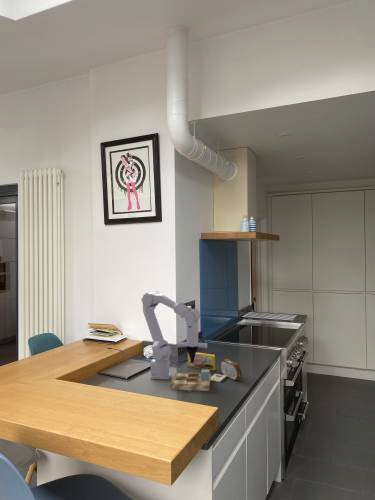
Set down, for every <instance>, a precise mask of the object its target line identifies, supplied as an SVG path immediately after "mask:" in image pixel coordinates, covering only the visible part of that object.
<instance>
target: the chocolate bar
mask: <svg viewBox="0 0 375 500" xmlns="http://www.w3.org/2000/svg"><path fill="white" fill-rule="evenodd" d="M227 379H229V377H228V376H226V375H224V374H223V373H222V371H221V368H217V369H216V370H214V372H213V373H211V381H210V382H216V383H217V382H218V383H220V384H221V383H222V384H223V383H224V382H225V381H226V380H227Z"/></svg>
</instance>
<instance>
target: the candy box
mask: <svg viewBox="0 0 375 500" xmlns="http://www.w3.org/2000/svg"><path fill="white" fill-rule="evenodd" d="M187 367H192V368H196V369H206V370H210V371H216V355H215V354H210V353H204V352H203V353H202V352H198V351H197V352H196V354H195V358H194V363H191V360H190V356H189V354H188V353H187Z"/></svg>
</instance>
